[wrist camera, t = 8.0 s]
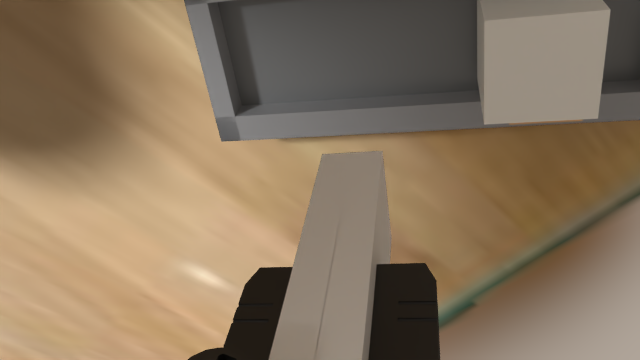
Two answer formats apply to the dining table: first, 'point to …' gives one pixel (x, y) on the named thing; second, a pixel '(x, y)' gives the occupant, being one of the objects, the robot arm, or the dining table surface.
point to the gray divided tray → (369, 66)
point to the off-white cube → (540, 59)
